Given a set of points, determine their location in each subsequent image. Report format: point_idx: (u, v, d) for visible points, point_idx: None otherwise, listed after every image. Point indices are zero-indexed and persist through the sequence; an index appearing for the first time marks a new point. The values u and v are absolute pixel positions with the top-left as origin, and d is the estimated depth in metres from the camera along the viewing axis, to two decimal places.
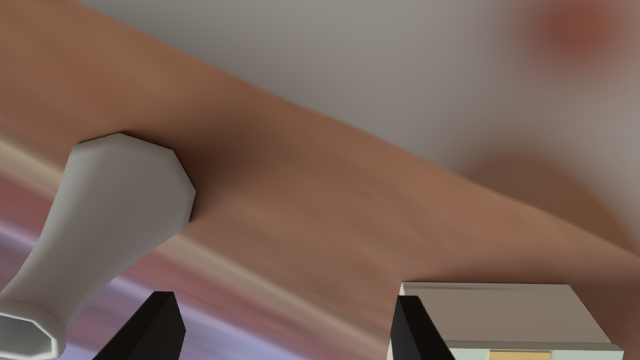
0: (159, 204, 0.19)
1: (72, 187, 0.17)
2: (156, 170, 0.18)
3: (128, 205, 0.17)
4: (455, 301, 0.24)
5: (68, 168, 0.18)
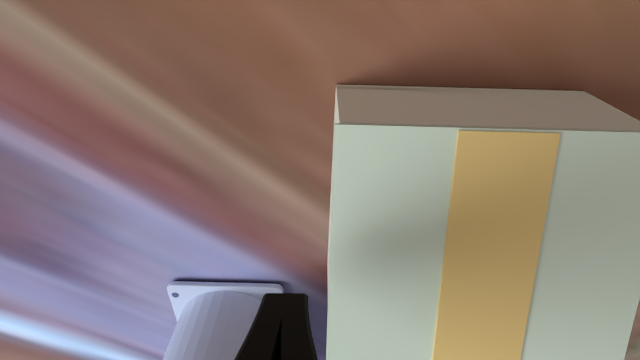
0: None
1: None
2: None
3: None
4: (412, 97, 0.16)
5: None
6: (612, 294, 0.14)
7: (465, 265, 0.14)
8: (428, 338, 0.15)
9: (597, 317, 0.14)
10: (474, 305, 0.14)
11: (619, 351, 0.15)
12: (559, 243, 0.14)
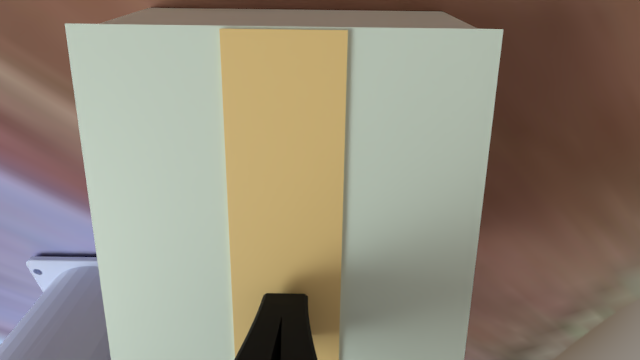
0: None
1: None
2: None
3: None
4: (221, 14, 0.13)
5: None
6: (444, 241, 0.11)
7: (254, 205, 0.11)
8: (226, 299, 0.12)
9: (429, 271, 0.12)
10: (273, 256, 0.11)
11: (462, 313, 0.12)
12: (368, 176, 0.11)
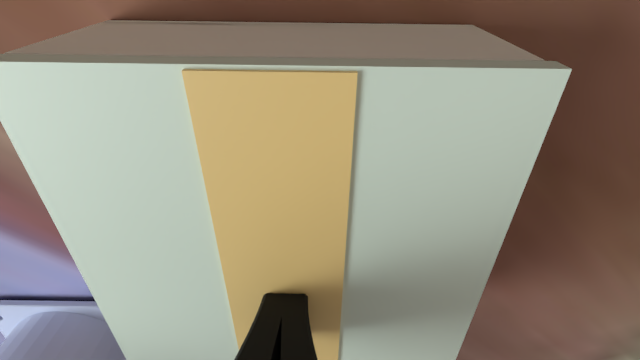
0: None
1: None
2: None
3: None
4: (194, 30, 0.10)
5: None
6: (451, 280, 0.11)
7: (248, 253, 0.10)
8: (227, 321, 0.12)
9: (431, 302, 0.11)
10: None
11: (459, 331, 0.12)
12: (375, 226, 0.10)
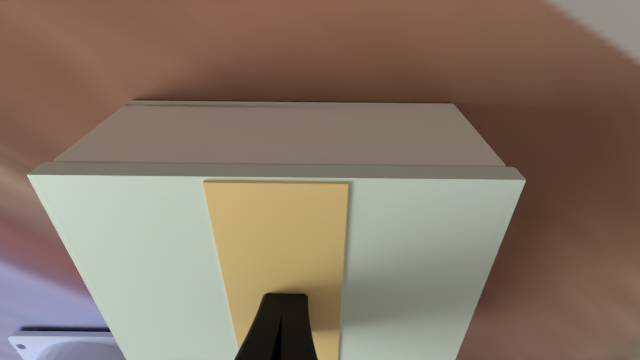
0: None
1: None
2: None
3: None
4: (208, 118, 0.12)
5: None
6: (434, 333, 0.12)
7: (256, 313, 0.12)
8: None
9: (417, 350, 0.13)
10: None
11: None
12: (365, 293, 0.11)
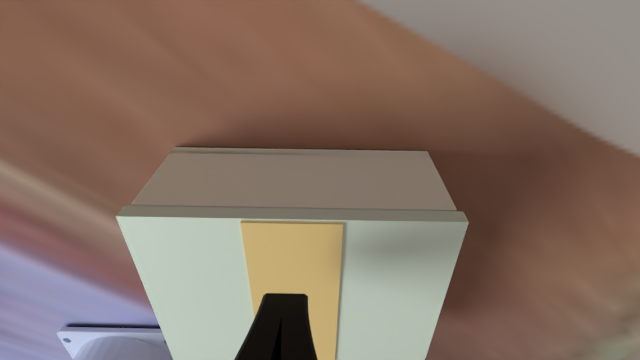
0: None
1: None
2: None
3: None
4: (237, 165, 0.15)
5: None
6: (410, 330, 0.16)
7: None
8: None
9: (397, 344, 0.16)
10: None
11: None
12: (356, 299, 0.15)
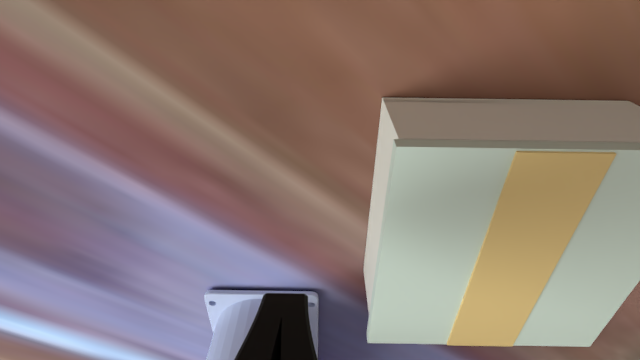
0: None
1: None
2: None
3: None
4: (461, 110, 0.16)
5: None
6: (621, 272, 0.16)
7: (499, 254, 0.16)
8: (457, 300, 0.18)
9: (603, 287, 0.17)
10: (500, 280, 0.17)
11: (613, 308, 0.18)
12: (586, 238, 0.15)
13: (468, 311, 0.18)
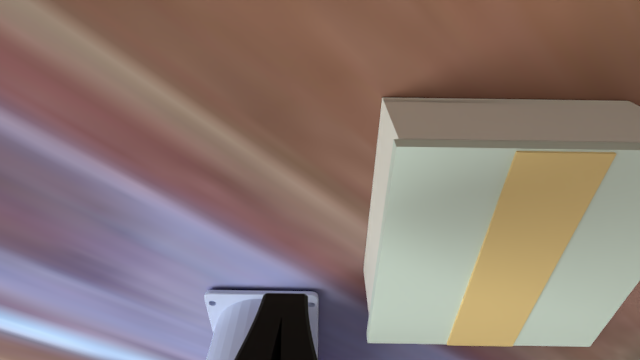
0: None
1: None
2: None
3: None
4: (461, 110, 0.16)
5: None
6: (621, 272, 0.16)
7: (499, 254, 0.16)
8: (457, 300, 0.18)
9: (603, 287, 0.17)
10: (500, 280, 0.17)
11: (613, 308, 0.18)
12: (586, 238, 0.15)
13: (468, 311, 0.18)
